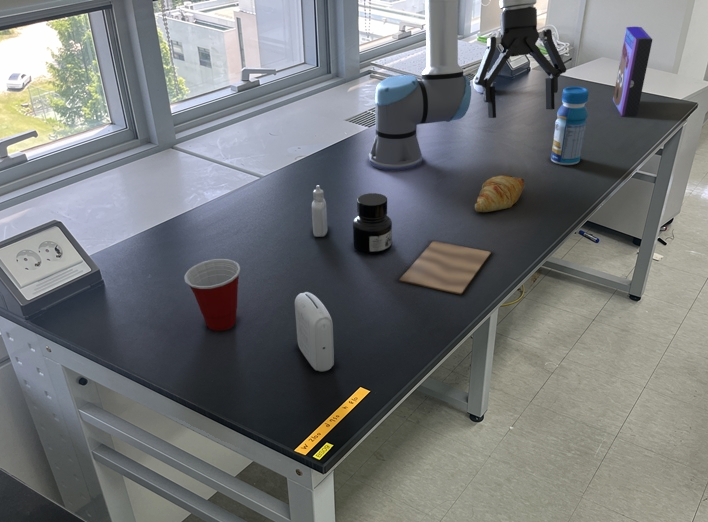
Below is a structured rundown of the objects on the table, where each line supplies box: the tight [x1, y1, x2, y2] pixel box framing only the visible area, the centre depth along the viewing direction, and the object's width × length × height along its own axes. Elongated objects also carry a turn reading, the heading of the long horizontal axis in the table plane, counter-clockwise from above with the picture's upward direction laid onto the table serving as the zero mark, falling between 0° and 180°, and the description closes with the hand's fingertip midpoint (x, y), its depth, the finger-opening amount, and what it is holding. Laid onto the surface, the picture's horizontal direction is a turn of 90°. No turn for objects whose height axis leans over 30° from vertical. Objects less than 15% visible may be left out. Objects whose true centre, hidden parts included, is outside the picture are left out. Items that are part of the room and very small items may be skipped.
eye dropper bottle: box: [311, 184, 329, 238], centre depth 173 cm, size 4×6×12 cm
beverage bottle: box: [550, 86, 590, 166], centre depth 203 cm, size 8×8×20 cm
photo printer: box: [294, 291, 335, 372], centre depth 131 cm, size 10×4×12 cm, turn 24°
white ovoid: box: [472, 71, 494, 94], centre depth 263 cm, size 10×7×7 cm
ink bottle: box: [352, 192, 393, 256], centre depth 166 cm, size 10×9×12 cm
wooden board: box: [398, 240, 492, 296], centre depth 160 cm, size 20×14×1 cm
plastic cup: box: [183, 258, 241, 332], centre depth 141 cm, size 11×11×12 cm
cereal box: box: [612, 26, 653, 118], centre depth 238 cm, size 17×5×24 cm, turn 172°
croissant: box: [474, 174, 525, 213], centre depth 186 cm, size 21×10×8 cm, turn 139°
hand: (521, 113), depth 161 cm, fingers open, 13 cm apart
